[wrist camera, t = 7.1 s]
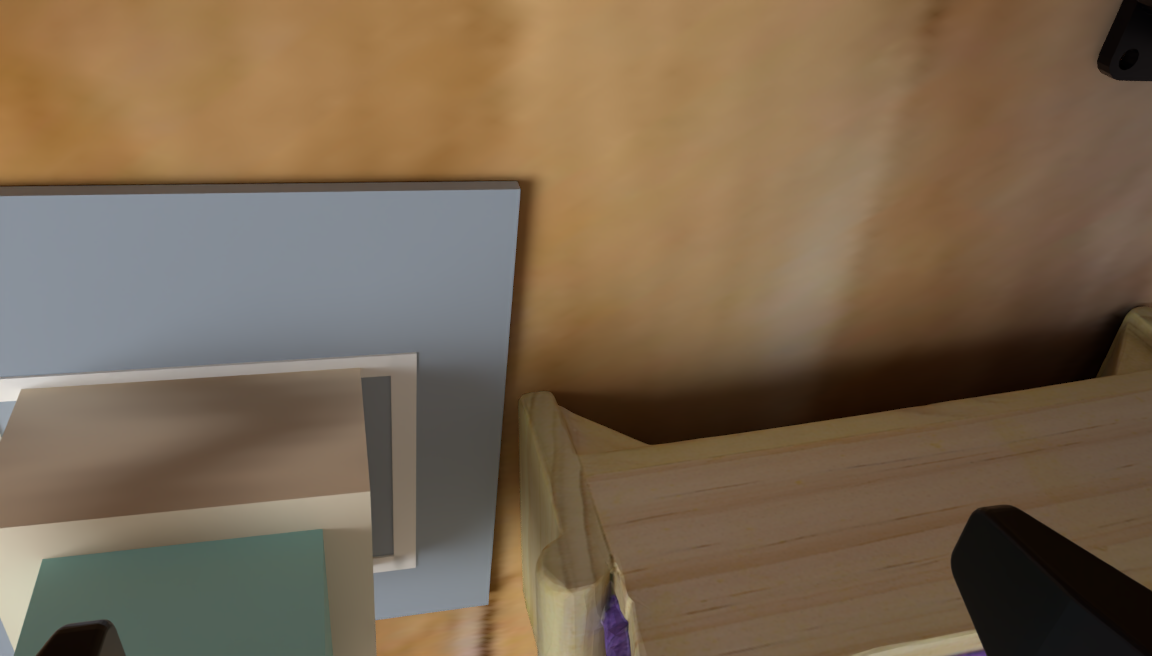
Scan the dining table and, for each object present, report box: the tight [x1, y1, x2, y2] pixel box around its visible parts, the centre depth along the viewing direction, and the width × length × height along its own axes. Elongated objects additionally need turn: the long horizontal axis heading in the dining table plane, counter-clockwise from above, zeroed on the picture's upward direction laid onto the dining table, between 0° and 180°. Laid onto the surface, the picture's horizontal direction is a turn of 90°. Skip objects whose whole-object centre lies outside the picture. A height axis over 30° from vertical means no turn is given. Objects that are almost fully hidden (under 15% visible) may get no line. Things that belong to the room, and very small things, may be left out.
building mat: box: [0, 181, 521, 656], centre depth 21 cm, size 14×14×1 cm
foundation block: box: [0, 368, 376, 656], centre depth 20 cm, size 7×7×4 cm
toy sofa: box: [518, 307, 1152, 656], centre depth 23 cm, size 21×9×10 cm, turn 89°
